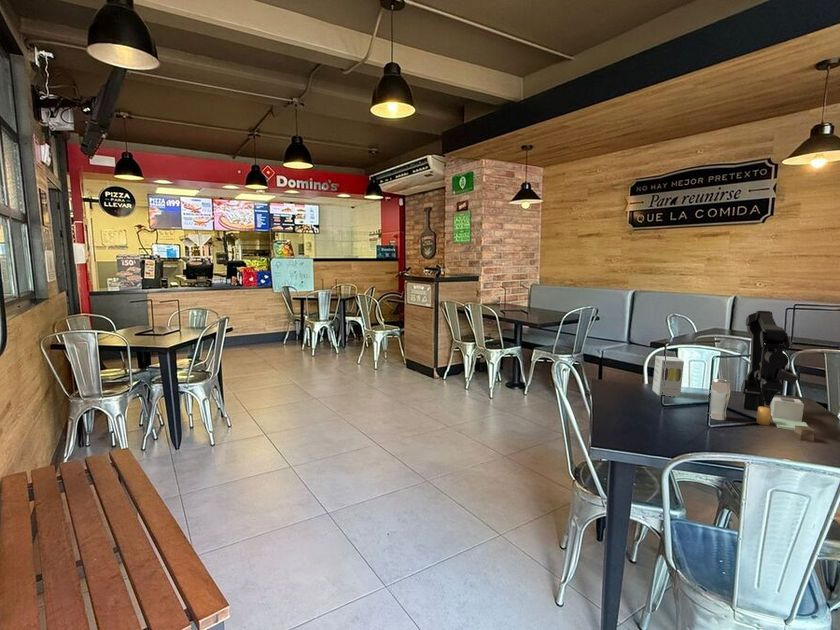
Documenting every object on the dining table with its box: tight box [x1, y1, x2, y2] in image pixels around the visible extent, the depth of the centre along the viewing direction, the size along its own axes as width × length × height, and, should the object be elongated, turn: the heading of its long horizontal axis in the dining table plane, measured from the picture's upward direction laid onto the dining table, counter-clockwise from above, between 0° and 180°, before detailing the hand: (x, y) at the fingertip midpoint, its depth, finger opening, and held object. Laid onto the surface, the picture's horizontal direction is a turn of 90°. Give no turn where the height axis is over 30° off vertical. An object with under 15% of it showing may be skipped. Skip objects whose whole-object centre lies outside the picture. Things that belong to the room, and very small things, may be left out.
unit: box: [769, 395, 805, 422], centre depth 181 cm, size 9×7×7 cm
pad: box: [771, 417, 810, 431], centre depth 172 cm, size 10×10×1 cm
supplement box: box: [652, 355, 685, 398], centre depth 209 cm, size 10×9×17 cm
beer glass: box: [708, 378, 732, 421], centre depth 179 cm, size 7×7×15 cm
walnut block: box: [793, 425, 816, 443], centre depth 160 cm, size 4×4×4 cm
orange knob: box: [756, 406, 772, 426], centre depth 174 cm, size 4×4×6 cm
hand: (765, 401), depth 174 cm, fingers open, 9 cm apart
